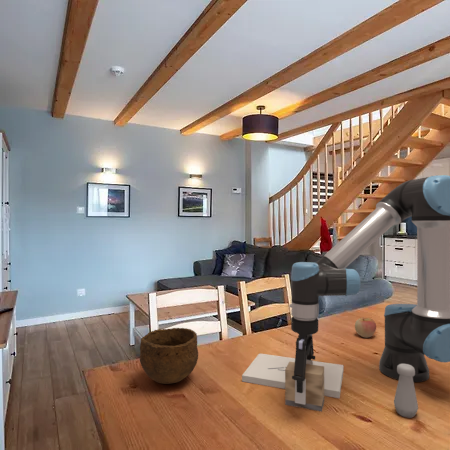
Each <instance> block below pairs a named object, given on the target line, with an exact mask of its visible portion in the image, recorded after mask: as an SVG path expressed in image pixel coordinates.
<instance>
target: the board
mask: <svg viewBox="0 0 450 450" xmlns="http://www.w3.org/2000/svg"><path fill="white" fill-rule="evenodd" d="M289 362H295V357H288V356H281V355H275V354H274V355H273V354H268V353H267V354H266V353H258V354H257V355H256V357H255V358H254V359H253V361H252V362H251V363H250V364H249V366H248V367H247V368H246V370H245V371H244V372H243V373H242V375H241V382H244V383H249V384H255V385H261V386H265V387H272V388H277V389H282V390H283V389H284V390H285V369H286V367H287V365H288V363H289ZM313 365H317V366H324V397H329V398H330V397H331V398H334V399H340V397H341V392H342V391H341V390H342V385H343V383H342V382H343V377H344V376H343V375H344V372H345V371H344V370H345V369H344V364H339V363H331V362H322V361H316V360H313Z"/></svg>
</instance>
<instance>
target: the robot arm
mask: <svg viewBox="0 0 450 450" xmlns="http://www.w3.org/2000/svg"><path fill="white" fill-rule="evenodd" d="M410 217H411V222H412V223H413V224H414V225H415V226H416V229H417V232H416V233H417V234H416V236H417V237H416V238H417V239H416V240H417V241H416V243H417V244H416V245H417V246H416V247H417V249H416V251H417V255H416V257H417V261H416V263H417V267H416V268H417V271H416V272H417V273H416V277H417V278H416V279H417V280H416V282H417V283H416V284H417V287H416V289H417V291H416V293H417V295H416V296H417V299H416V300H417V302H416V304H412V303H391V304H388V305H386V306H385V307H384V314H383V317H384V349H383V351H382V353H381V356H380V359H379V362H378V367H379V368H378V369H379V371H380V372H381V373H382V374H383V375H385V376H387V377H389V378H391V379H395V380H398V381H399V376H400V374H398V372H397V366H398V365H399V364H409V365H411V366H413V367H414V369H415V375H414V376H413V382H414V383H421V382H422V383H423V382H425V381H428V380H429V379H430V368H429V365H428V362H427V360H426V357H427V358H428V359H432V360H435V361H436V362H439V363H450V175H447V174H444V175H439V174H438V175H436V174H435V175H431V176H426V177H421V178H416V179H409V180H406V181H404V182H402V183H400V184H399V185H397V186H396V187H395V188H393V189H392V190H391V191H389V193H388V194H386V195H385V196H384V197H383V198H381V199H380V200H379V201H378V202H377V203H376V205H375V209H374V210H373V211H371V212H370V213H369V215H367V216H366V217H365V218H364V219H363V220H362V221H361V222H360V223H358V224H357V225H356V226H355V227H354V228H352V230H350V232H348V233H347V234H346V235H345V236H344V237H343V238H342V239H340V240H339V241H338V242H337V243H336V244H335V245H334V246H333V247H332V248H331V249H330V250H328V252H326V253H325V254H324V255H323V256H322V257H321V258H320V259H318V260H317V261H314V262H312V261H311V262H310V261H307V262H306V261H299V262H295V263H293V264H292V266H291V273H290V284H291V285H290V287H291V288H290V289H291V292H290V293H291V294H290V295H291V303H290V304H289V305H288V307H289V308H290V309H291V314H290V315H291V318H290V322H291V323H290V325H291V329H290V330H291V331H292V332H293V333H296V334H298V336H297V338H296V341H295V354H294V356H295V357H294V358H295V367H294V376H292V379H294V380H295V403H299V404H304V405H305V404H306V379H305V371H306V364H310V365H313V361H316V355H314V354H315V352H314V351H315V349H314V340H313V339H314V338H313V335H314V334H317V333H318V332H319V319H318V317H319V316H320V315H319V309H320V308H319V306H320V305H319V299H320V298H319V297H325V296H326V297H328V296H331V297H332V296H336V297H337V296H345V297H347V296H355V295H356V294H358V293H359V292H360V290H361V285H362V283H361V277H360V274H359V272H358V271H357V270H356V269H354V268H347V267H348V266H350V265H351V263H353V262H354V261H355V260H356V259H357V258H359V256H361V255H362V254H363V253H364V252H365V251H366V250H367V249H369V247H370V246H371V245H372V244H374V243H375V242H376V241H377V240H378V239H379V238H380V237H382V235H384V234H385V233H386V232H387V231H388V230H389V229H390V228H392V227H393V226H397V225H400V224H402V222H403V221H405V220H406V219H409V218H410Z"/></svg>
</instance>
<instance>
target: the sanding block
mask: <svg viewBox="0 0 450 450" xmlns="http://www.w3.org/2000/svg"><path fill="white" fill-rule="evenodd" d="M294 367H295V362H289V363H288V365H287V367H286V369H285V389H284V391H285V393H284V395H285V397H284V398H285V399H284V400H285V403H284V404H285V405H286V406H289V407H290V406H291V407H296V408H301V409H305V410H310V411H311V410H312V411H315V412H323V408H324V404H325V396H324V366H317V365H310V364H306V371H305V379H306V404H305V405H304V404H299V403H295V380H294V379H292V376H294Z"/></svg>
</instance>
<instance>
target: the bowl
mask: <svg viewBox="0 0 450 450" xmlns="http://www.w3.org/2000/svg"><path fill="white" fill-rule="evenodd" d="M139 351H140V352H139V353H140V354H139V362H140V366H141V368H142V369H143V371H144V373H145V375H146V376H148V378H150V379H151V380H152V381H154V382H156V383H158V384H165V385H168V384H175V383H179V382H181V381H183V380H184V379H185V378H186V377H188V376H189V375H190V374H192V372H193V371H194V369H195V367H196V365H197V364H198V359H199V349H198V335H197V333H196V332H195V330H192V329H191V328H188V327H186V328H185V327H172V328H167V329H166V328H163V329H162V328H161V329H154V330H151V331H149V332H148V333H147V334H145V335H144V336H141V338H140V345H139Z"/></svg>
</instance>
